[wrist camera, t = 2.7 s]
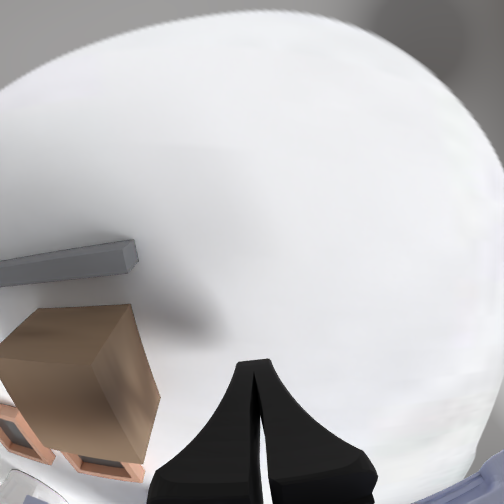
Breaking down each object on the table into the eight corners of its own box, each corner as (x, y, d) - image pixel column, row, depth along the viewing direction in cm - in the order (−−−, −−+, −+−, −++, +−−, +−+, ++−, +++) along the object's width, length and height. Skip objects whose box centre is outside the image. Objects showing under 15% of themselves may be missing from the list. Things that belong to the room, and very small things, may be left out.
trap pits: (145, 471, 18) (142, 483, 17) (12, 443, 18) (8, 451, 16) (115, 423, 16) (110, 436, 15) (-20, 397, 16) (-26, 405, 15)
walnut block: (161, 395, 15) (143, 464, 11) (75, 391, 15) (44, 447, 11) (131, 302, 14) (90, 365, 9) (38, 307, 14) (-12, 355, 9)
